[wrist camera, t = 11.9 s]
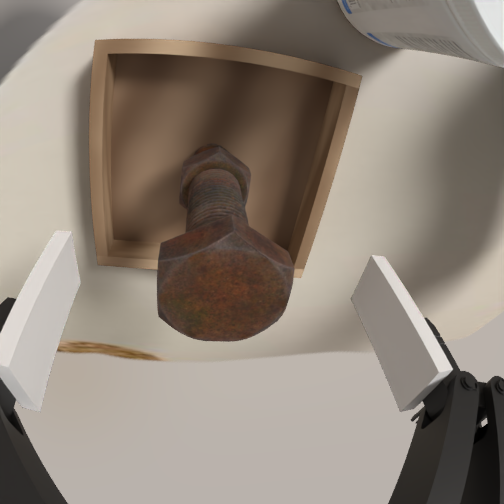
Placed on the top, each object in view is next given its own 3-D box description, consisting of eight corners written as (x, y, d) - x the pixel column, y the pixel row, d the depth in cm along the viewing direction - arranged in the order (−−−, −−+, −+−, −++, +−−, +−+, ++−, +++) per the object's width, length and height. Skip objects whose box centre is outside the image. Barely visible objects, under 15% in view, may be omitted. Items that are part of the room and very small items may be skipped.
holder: (343, 71, 22) (362, 75, 19) (292, 254, 32) (301, 277, 29) (110, 40, 18) (94, 40, 15) (106, 241, 28) (97, 265, 25)
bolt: (191, 201, 26) (187, 356, 14) (164, 148, 23) (122, 281, 11) (258, 175, 25) (311, 316, 13) (236, 118, 22) (277, 221, 10)
